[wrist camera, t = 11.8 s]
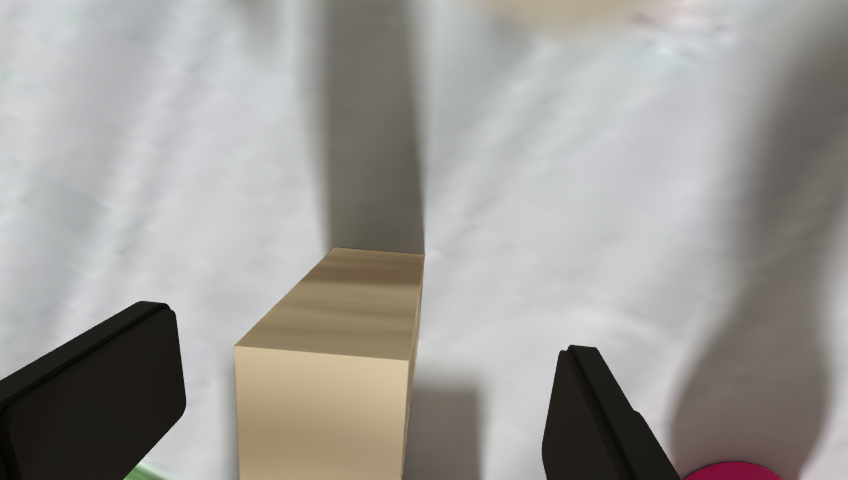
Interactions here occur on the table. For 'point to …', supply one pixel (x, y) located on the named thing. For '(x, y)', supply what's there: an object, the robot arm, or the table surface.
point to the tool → (332, 372)
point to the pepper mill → (734, 472)
